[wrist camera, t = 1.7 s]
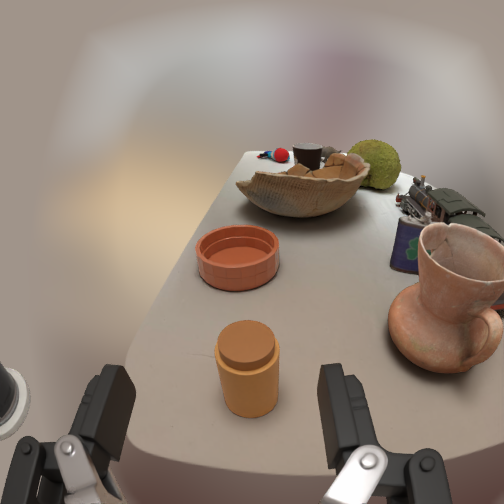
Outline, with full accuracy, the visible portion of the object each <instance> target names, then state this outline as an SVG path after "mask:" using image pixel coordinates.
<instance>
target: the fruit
mask: <svg viewBox="0 0 504 504" xmlns="http://www.w3.org/2000/svg"><path fill="white" fill-rule="evenodd" d="M350 153H355V154H357V155H359V156H360V157H362V159H364V163H369V164H370V165H371V166H370V171H369V172H368V174H367V176H366V177H364V179H363V180H362V182H361V184H360V186H364V187H366V186H370V187H375V188H376V189H377V188H379V189H380V188H381V189H386V188H390V187H391V185H393V184H394V183H395V182H396V180H397V178H398V176H399V173H400V171H401V164H400V160H399V157H398V153H397V152H396V150H395V149H394V148H393V147H392V146H390V145H388V144H387V143H385V142H382V141H378V140H365V141H360V142H359V143H357V144H355V146H353V147H352V149H351V150H349V152H348V153H347V155H348V154H350Z"/></svg>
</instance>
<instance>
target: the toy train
mask: <svg viewBox="0 0 504 504" xmlns="http://www.w3.org/2000/svg"><path fill="white" fill-rule="evenodd" d="M424 180H425V176H423V175H422V176H421V181H420V180H419V179H417V178H416V177H414V178H413V181H414V182H413V183H414V185H413V184H412V186H411V187H410V189H409V192H408V193H409V195H410V196H405V195H407V194H408V193H407V194H405V195H404V196H403V195H399V193H398V195H397V196H396V202H401V204H400V206H401V207H402V209H403V210H404V211H406V212H407V211H409V213H410V215H411V216H414V217H416V218H418V219H420V218H421V217H424V216H425V215H426V214H425V213H427V211H428V212H430V213H431V217H433V218H431V221H432V222H439V223H440V222H442V223H445V224H447V225H449V224H450V223H457V224H461V225H465V226H468V227H471V228H474V229H476V230H478V231H480V232H482V233H485V234H486V235H488V236H490V237H492V238H493V239H494V238H497V239H499V243H501V241H503V242H504V239H503V238H502V237H501V236H500V235H499V234H498V233H497V232H496V231H495V230H494V229H493V228H492V227H491V226H489V225H488V224H487V223H486V222H484V221H483V220H482V219H481V218H479V217H477V213H479V214H481V215H482V216H484V217H485V213H484V212H482V211H481V210H480V209H479V208H478V207H476V206H475V205H474V204H472V203H471V202H469V201H468V200H467V199H466V198H465V197H463V196H462V195H461V194H459V193H458V192H456V191H454V190H452V189H447V188H442V189H441V188H439V189H435V190H432V187H431V186H429V185H428V186H425V187H426V190H425V187H424ZM462 211H465V212H464V213H463V212H462ZM467 211H473V215H471V214H466V213H467ZM418 216H419V217H418ZM490 308H491V309H493V310H495V311H500V310H502V311H504V292H503V293H502V294H501V296H500V297H499V298H498V299H497V300H496V301H495V303H494V304H493V305H491V307H490Z"/></svg>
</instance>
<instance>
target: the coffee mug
mask: <svg viewBox="0 0 504 504" xmlns="http://www.w3.org/2000/svg"><path fill="white" fill-rule="evenodd" d="M293 153H294V161H295V165H296V164H298V163H300V164H302V165H303V166H305V167H307V168H309V169H310V170H309V171H315V170H318V169H319V168H320V161H321V154H322V146H321V145H318V144H311V143H299V144H294V145H293Z"/></svg>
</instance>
